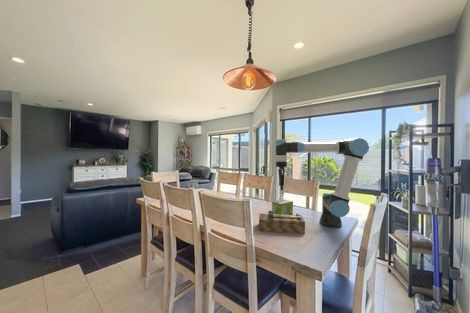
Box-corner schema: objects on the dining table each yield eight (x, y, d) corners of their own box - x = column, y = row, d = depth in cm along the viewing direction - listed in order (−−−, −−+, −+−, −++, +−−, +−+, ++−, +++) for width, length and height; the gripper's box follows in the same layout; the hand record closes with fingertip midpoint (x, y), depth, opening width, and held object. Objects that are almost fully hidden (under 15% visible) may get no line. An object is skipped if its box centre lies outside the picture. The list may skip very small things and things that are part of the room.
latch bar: (298, 216, 146) (298, 214, 146) (299, 218, 142) (300, 216, 142) (269, 214, 149) (269, 212, 149) (269, 216, 145) (269, 214, 145)
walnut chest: (301, 225, 151) (301, 210, 151) (305, 233, 137) (305, 217, 137) (259, 223, 155) (259, 209, 154) (259, 231, 141) (259, 215, 140)
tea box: (281, 223, 156) (282, 203, 156) (271, 220, 164) (271, 201, 164) (293, 219, 166) (293, 200, 166) (282, 216, 174) (282, 198, 174)
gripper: (275, 160, 154) (275, 192, 154) (276, 161, 141) (277, 196, 141) (285, 160, 153) (285, 192, 153) (288, 161, 140) (288, 196, 140)
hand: (281, 194), depth 147 cm, fingers closed
